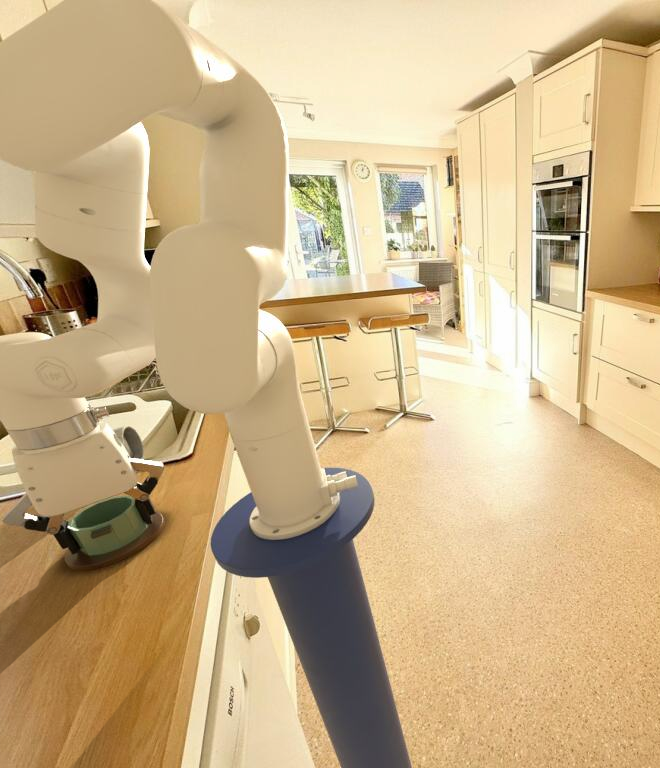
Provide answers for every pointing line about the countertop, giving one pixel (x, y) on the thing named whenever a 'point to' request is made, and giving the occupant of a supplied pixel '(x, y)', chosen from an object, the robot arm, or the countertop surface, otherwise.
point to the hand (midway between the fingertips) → (114, 532)
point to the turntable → (97, 561)
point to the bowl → (107, 525)
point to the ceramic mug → (130, 441)
